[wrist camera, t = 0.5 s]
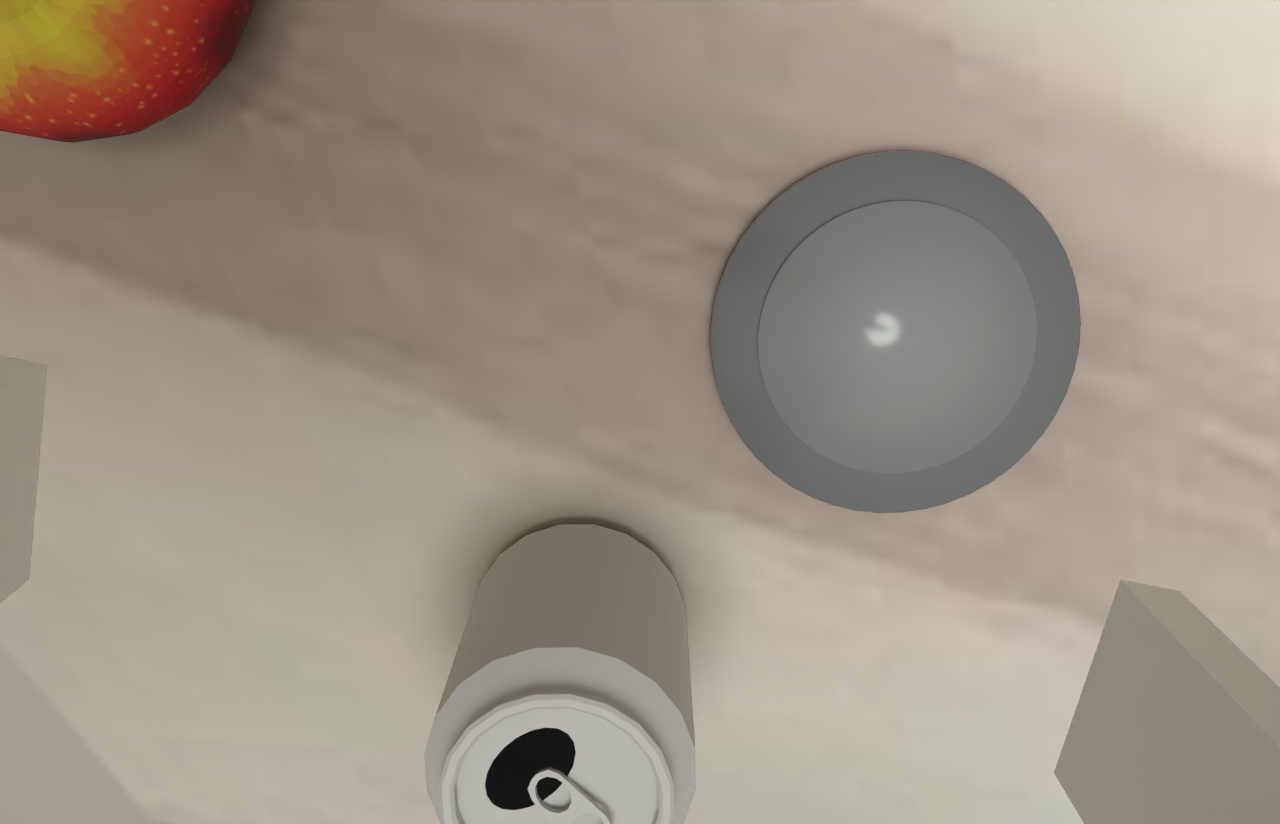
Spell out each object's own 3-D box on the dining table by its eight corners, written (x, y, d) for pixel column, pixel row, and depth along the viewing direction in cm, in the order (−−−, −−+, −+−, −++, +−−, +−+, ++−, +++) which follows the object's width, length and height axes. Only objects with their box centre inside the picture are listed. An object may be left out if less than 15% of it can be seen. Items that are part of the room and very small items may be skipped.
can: (575, 471, 42) (548, 619, 31) (729, 611, 44) (759, 804, 32) (431, 615, 44) (353, 809, 32) (585, 747, 45) (562, 978, 33)
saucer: (641, 388, 41) (641, 396, 40) (845, 76, 39) (850, 76, 38) (931, 566, 43) (938, 578, 42) (1146, 278, 40) (1160, 284, 39)
